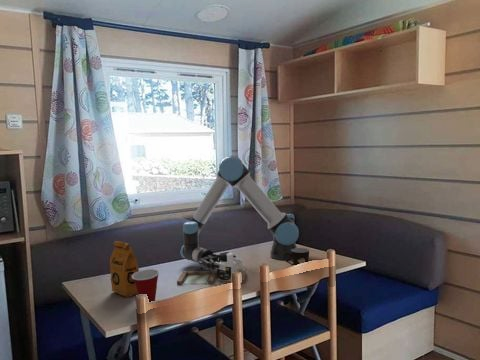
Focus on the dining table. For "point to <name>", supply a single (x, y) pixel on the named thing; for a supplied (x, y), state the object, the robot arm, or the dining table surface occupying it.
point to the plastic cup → (146, 282)
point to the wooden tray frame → (201, 277)
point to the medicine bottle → (226, 267)
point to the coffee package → (123, 269)
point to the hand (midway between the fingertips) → (233, 265)
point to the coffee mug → (298, 255)
